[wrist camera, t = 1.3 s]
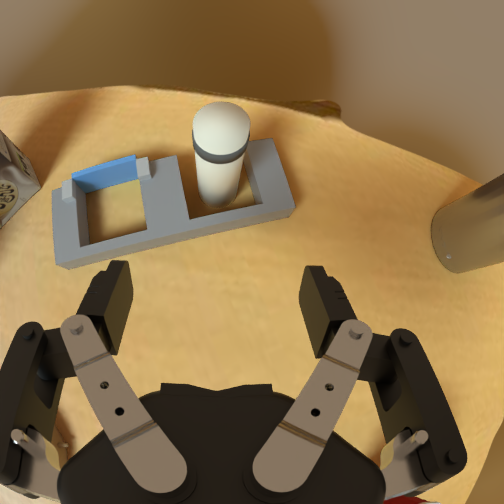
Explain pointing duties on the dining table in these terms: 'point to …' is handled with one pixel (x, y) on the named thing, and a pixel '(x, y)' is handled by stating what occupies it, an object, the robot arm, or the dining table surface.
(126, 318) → the robot arm
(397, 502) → the plastic cup
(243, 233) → the dining table surface
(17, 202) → the coffee box
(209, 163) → the white capped cylinder
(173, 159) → the grey slotted holder frame
